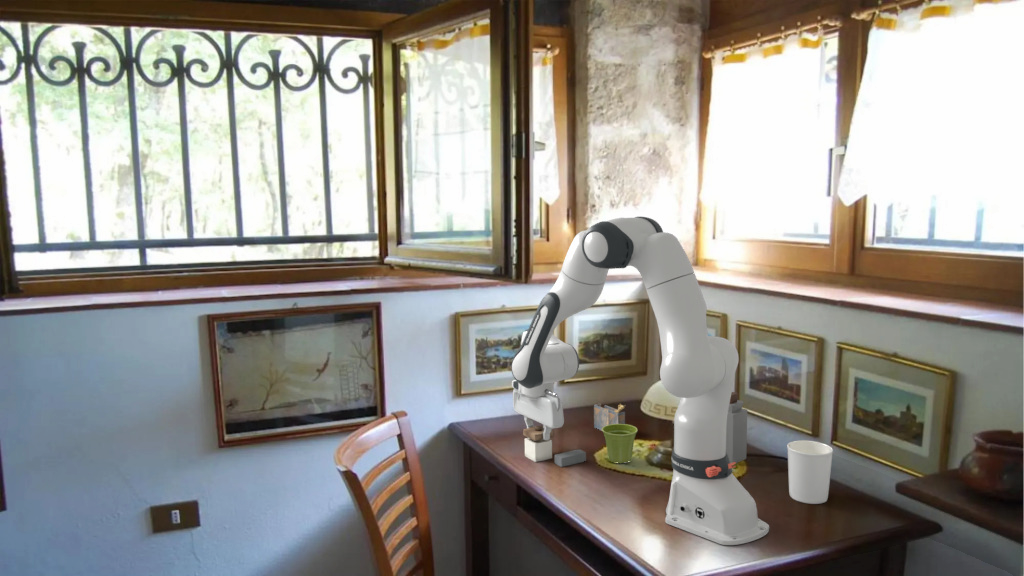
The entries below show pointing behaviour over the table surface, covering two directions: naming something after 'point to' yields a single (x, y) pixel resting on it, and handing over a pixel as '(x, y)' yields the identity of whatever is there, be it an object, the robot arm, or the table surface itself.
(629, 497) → the table surface
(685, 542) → the table surface
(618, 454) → the plant pot
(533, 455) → the white open box
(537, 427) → the lid
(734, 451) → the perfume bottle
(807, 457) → the candle holder
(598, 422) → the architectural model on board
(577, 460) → the gray rectangular block
